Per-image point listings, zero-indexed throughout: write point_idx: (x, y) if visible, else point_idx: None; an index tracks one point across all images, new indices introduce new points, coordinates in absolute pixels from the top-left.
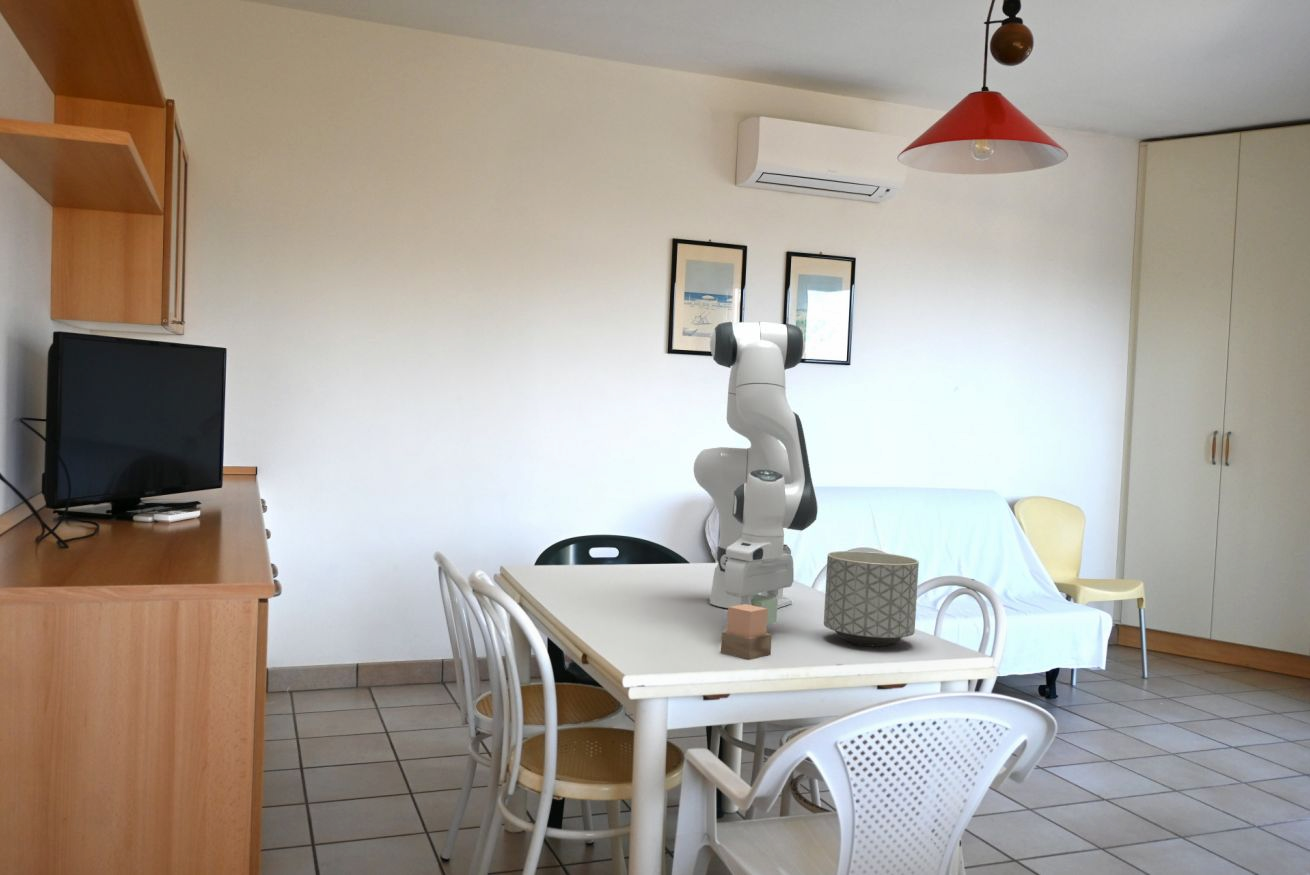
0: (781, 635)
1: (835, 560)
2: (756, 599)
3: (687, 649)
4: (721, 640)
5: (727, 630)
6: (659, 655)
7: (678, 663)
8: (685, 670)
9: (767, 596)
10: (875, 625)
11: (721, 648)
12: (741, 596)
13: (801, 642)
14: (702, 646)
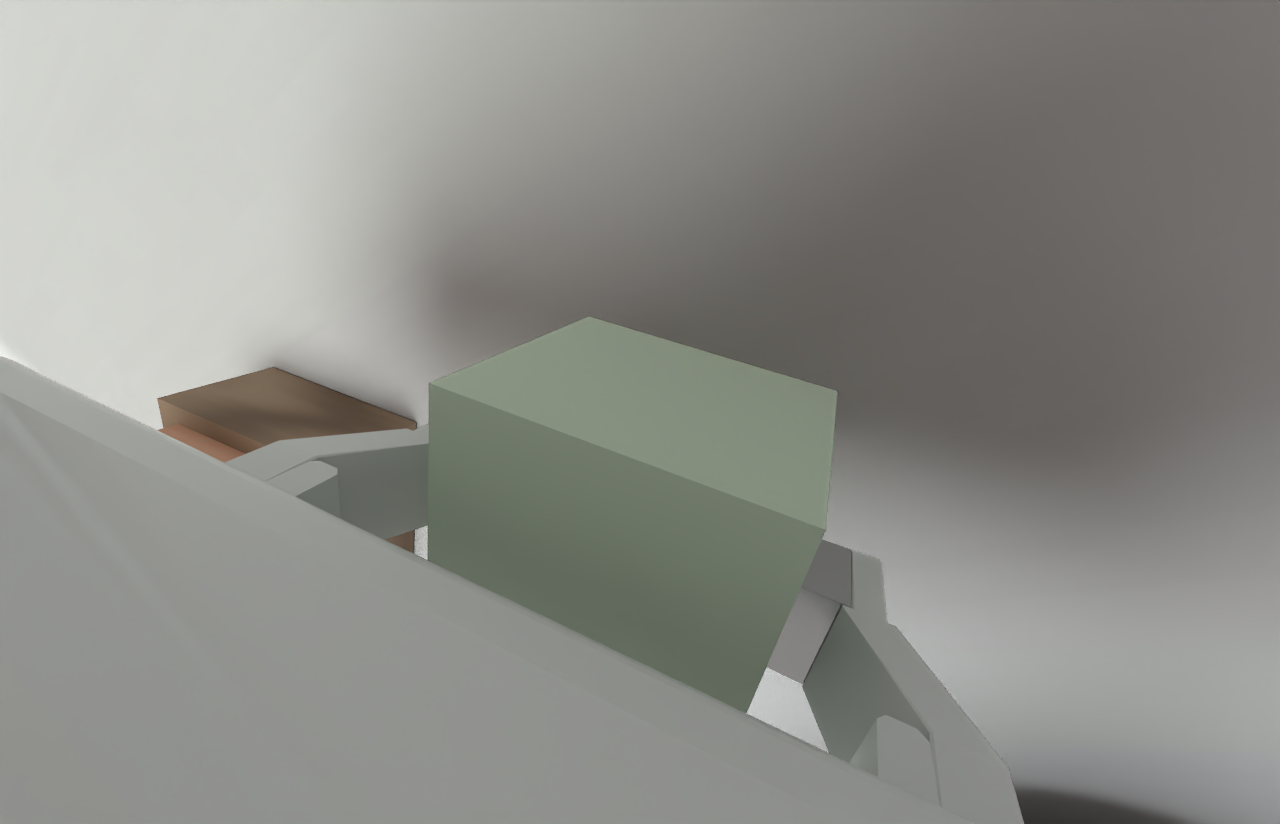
0: (911, 538)
1: None
2: (481, 584)
3: (187, 202)
4: (209, 385)
5: (166, 430)
6: (42, 161)
7: (57, 300)
8: (43, 365)
9: (877, 674)
10: None
11: (253, 376)
12: (258, 464)
13: (769, 668)
14: (280, 231)
